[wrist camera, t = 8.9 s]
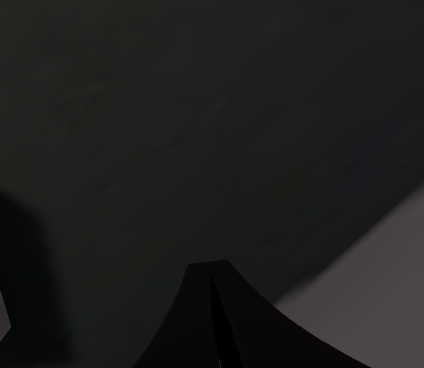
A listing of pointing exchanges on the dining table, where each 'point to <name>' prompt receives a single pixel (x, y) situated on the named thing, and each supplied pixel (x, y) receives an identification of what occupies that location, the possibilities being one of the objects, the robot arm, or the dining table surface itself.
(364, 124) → the dining table surface
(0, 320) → the bridge
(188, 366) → the robot arm
